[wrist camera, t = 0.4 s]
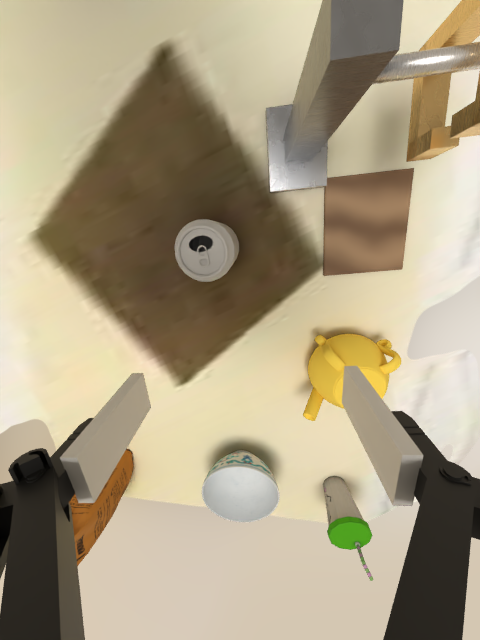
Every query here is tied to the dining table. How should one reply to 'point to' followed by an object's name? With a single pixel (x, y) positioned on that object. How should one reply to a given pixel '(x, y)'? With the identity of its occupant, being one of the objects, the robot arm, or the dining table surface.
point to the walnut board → (366, 221)
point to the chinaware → (240, 488)
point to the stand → (345, 83)
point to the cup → (345, 518)
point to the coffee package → (99, 507)
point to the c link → (443, 92)
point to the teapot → (347, 352)
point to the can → (206, 249)
